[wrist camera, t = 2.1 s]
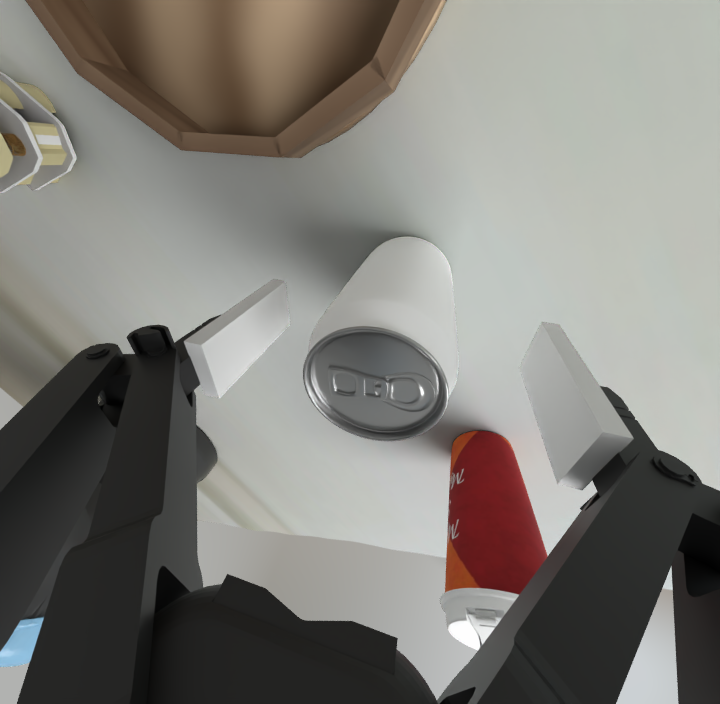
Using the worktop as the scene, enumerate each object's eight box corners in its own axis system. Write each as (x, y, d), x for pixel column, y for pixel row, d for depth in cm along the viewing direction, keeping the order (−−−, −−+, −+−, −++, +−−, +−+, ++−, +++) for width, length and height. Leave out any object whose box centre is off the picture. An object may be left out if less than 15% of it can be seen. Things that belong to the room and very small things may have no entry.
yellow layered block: (88, 230, 25) (11, 245, 20) (-15, 124, 22) (-132, 114, 17) (136, 155, 20) (50, 154, 16) (14, 4, 17) (-138, -52, 12)
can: (444, 326, 21) (445, 461, 12) (362, 317, 23) (303, 432, 13) (461, 236, 18) (482, 327, 8) (362, 232, 19) (279, 306, 9)
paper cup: (428, 432, 28) (417, 611, 17) (508, 413, 25) (562, 627, 13) (460, 478, 31) (470, 657, 20) (536, 467, 27) (601, 681, 16)
